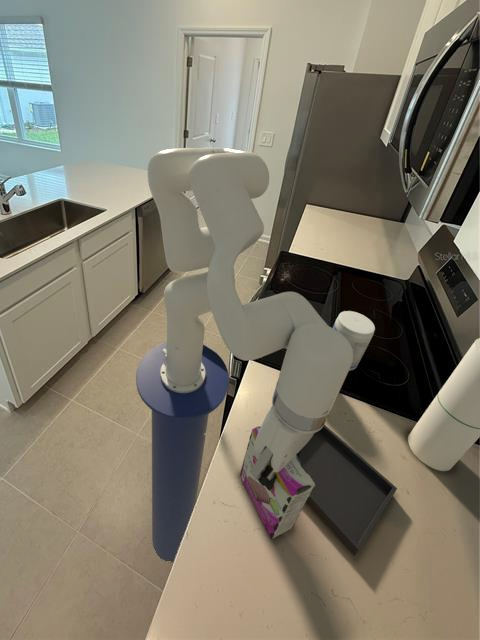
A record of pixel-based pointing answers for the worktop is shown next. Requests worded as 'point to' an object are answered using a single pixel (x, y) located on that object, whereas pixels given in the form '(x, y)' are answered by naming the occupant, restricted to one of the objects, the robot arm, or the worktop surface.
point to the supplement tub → (355, 333)
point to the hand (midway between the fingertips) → (276, 468)
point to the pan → (344, 488)
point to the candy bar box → (277, 491)
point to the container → (451, 417)
